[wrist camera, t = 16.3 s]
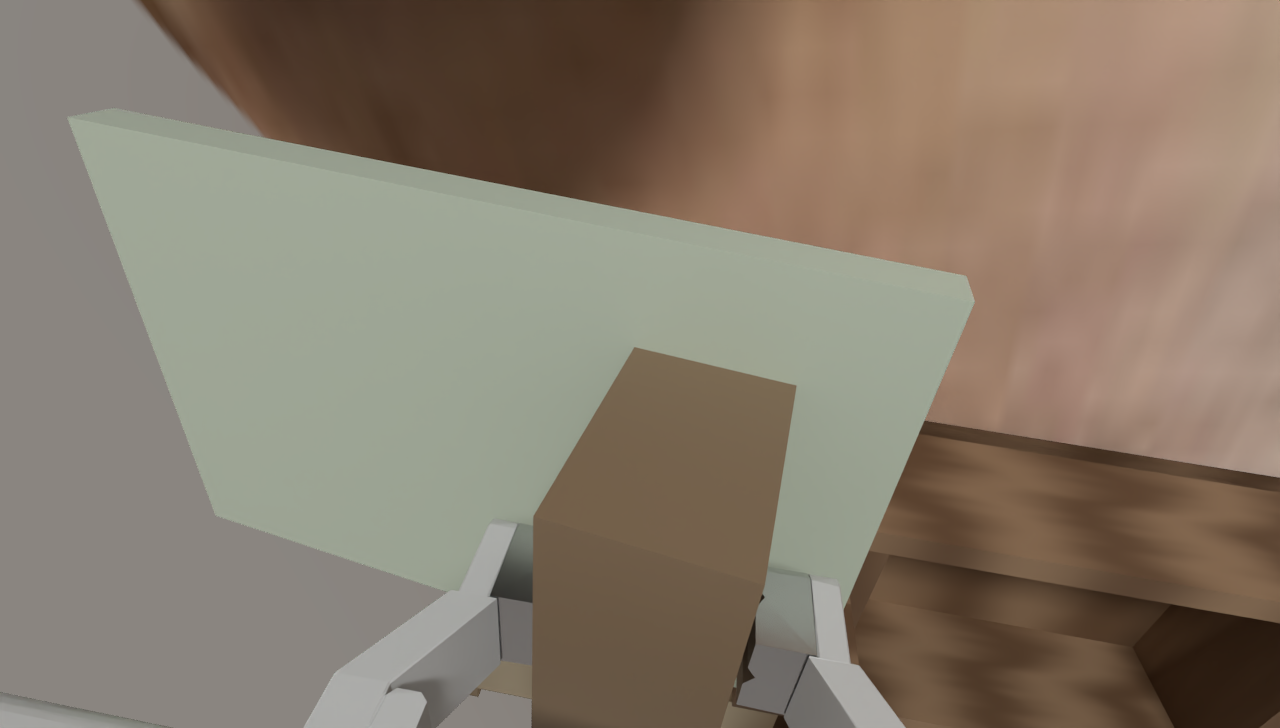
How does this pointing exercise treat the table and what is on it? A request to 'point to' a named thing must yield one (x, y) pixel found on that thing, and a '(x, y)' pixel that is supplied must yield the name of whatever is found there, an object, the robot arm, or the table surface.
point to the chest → (1069, 590)
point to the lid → (526, 391)
